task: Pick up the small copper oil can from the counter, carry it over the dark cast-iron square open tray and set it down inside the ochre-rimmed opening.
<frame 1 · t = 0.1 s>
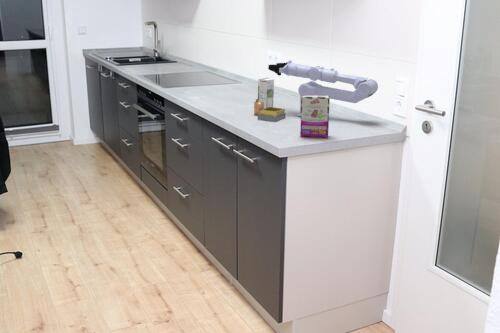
hand: (272, 66, 267), 22 cm above the worktop, tool horizontal, fingers open, 7 cm apart
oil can: (258, 114, 265), on the worktop
square open tray: (271, 118, 258), on the worktop
syrup box: (265, 107, 282), on the worktop
candy bar box: (314, 136, 228), on the worktop
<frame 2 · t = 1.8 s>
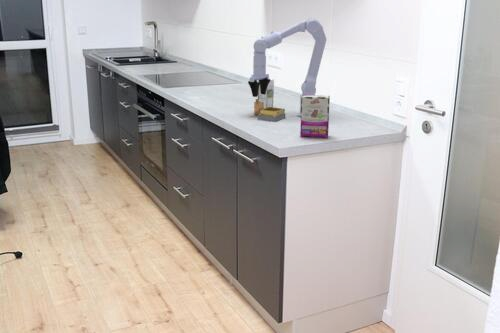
hand: (259, 95, 263), 9 cm above the worktop, tool pointing down, fingers open, 7 cm apart
nothing on the worktop moved.
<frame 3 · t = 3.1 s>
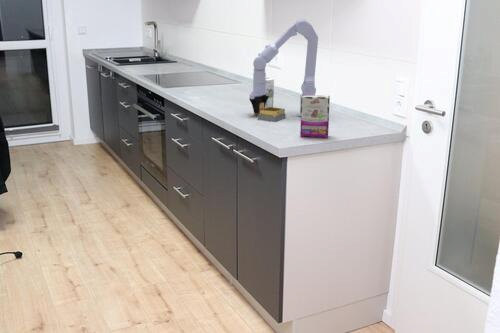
hand: (259, 111, 265), 1 cm above the worktop, tool pointing down, fingers closed on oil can, 5 cm apart
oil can: (258, 114, 265), on the worktop, touching gripper
everything else where it was.
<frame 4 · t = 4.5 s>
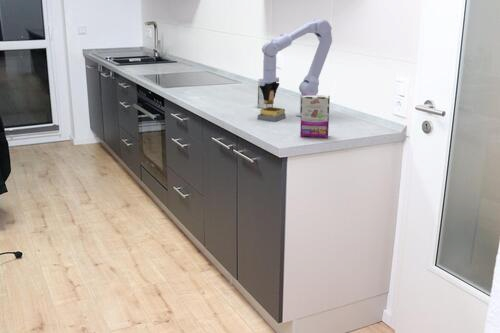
hand: (269, 99, 258), 8 cm above the worktop, tool pointing down, fingers closed on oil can, 5 cm apart
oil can: (268, 103, 258), point 7 cm above the worktop, touching gripper
everything else where it was.
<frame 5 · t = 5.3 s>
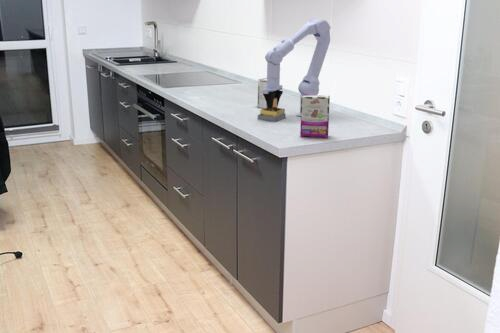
hand: (272, 107, 257), 5 cm above the worktop, tool pointing down, fingers closed on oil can, 5 cm apart
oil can: (272, 111, 257), point 3 cm above the worktop, touching gripper
everything else where it was.
when the fingers open (5 cm above the worktop, at t = 5.9 s): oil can stays where it is, resting on square open tray.
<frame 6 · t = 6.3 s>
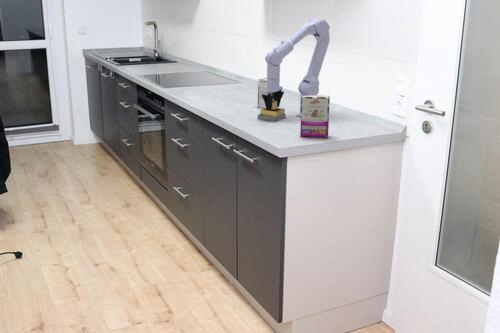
hand: (272, 108, 257), 5 cm above the worktop, tool pointing down, fingers open, 7 cm apart
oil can: (272, 113, 258), point 2 cm above the worktop, touching square open tray
everything else where it was.
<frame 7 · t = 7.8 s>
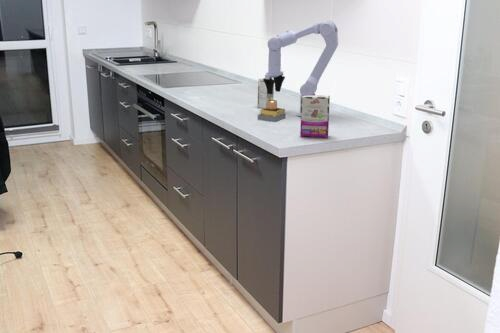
hand: (273, 92, 266), 10 cm above the worktop, tool pointing down, fingers open, 7 cm apart
nothing on the worktop moved.
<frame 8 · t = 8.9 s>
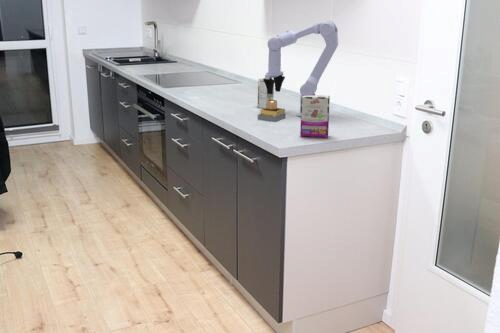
hand: (273, 92, 266), 10 cm above the worktop, tool pointing down, fingers open, 7 cm apart
nothing on the worktop moved.
at the end: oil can 0.2 cm off-centre on the square open tray, point 2.1 cm above the square open tray's base; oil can tilted 2°; the gripper is holding nothing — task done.
